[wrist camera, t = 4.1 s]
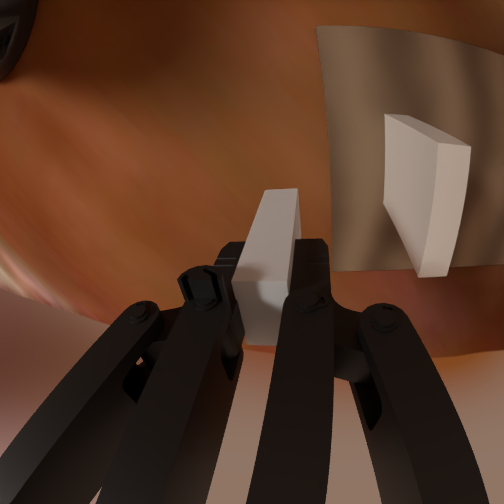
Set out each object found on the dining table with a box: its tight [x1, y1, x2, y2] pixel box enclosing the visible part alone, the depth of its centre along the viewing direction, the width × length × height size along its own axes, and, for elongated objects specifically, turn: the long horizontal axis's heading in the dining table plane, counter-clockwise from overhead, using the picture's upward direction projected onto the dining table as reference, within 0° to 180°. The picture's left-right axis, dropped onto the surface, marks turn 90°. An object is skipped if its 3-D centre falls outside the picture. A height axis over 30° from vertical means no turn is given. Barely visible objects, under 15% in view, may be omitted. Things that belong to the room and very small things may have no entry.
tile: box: [383, 114, 471, 278], centre depth 14 cm, size 2×7×9 cm, turn 8°
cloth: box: [316, 26, 504, 272], centre depth 17 cm, size 24×20×1 cm
